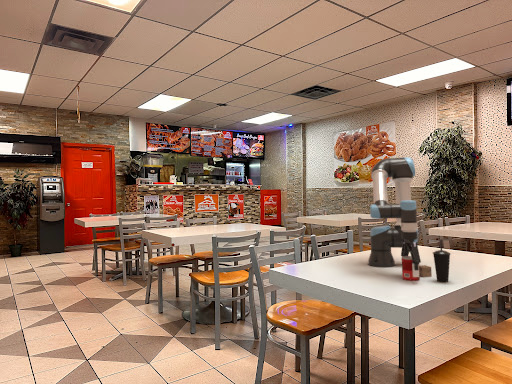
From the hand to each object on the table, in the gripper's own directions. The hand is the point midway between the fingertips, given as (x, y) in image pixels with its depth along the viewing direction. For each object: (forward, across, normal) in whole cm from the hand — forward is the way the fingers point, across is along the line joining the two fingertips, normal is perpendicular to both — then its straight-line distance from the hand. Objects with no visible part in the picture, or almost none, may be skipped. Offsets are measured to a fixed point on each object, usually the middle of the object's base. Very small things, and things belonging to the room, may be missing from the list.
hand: (410, 274), depth 177 cm
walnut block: (+3, -7, +9) cm, 12 cm away
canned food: (+3, 0, 0) cm, 3 cm away
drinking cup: (+3, +5, +13) cm, 14 cm away
